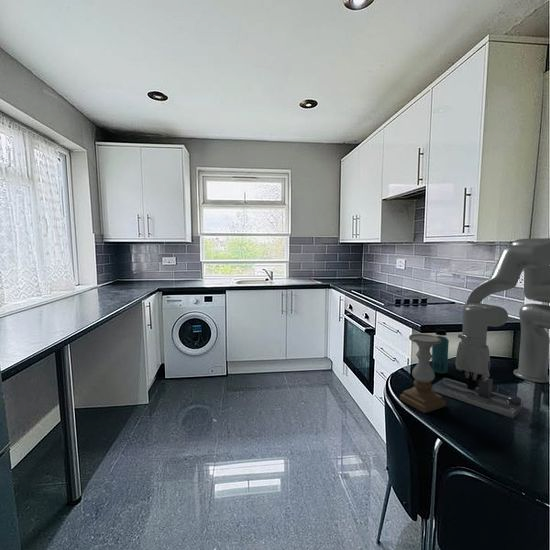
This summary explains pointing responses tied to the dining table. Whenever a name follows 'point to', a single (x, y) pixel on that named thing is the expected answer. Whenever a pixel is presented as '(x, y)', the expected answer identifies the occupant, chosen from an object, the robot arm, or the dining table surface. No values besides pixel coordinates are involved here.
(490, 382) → the fader tab
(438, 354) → the beverage bottle
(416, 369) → the candle holder
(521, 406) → the console
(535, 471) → the dining table surface
